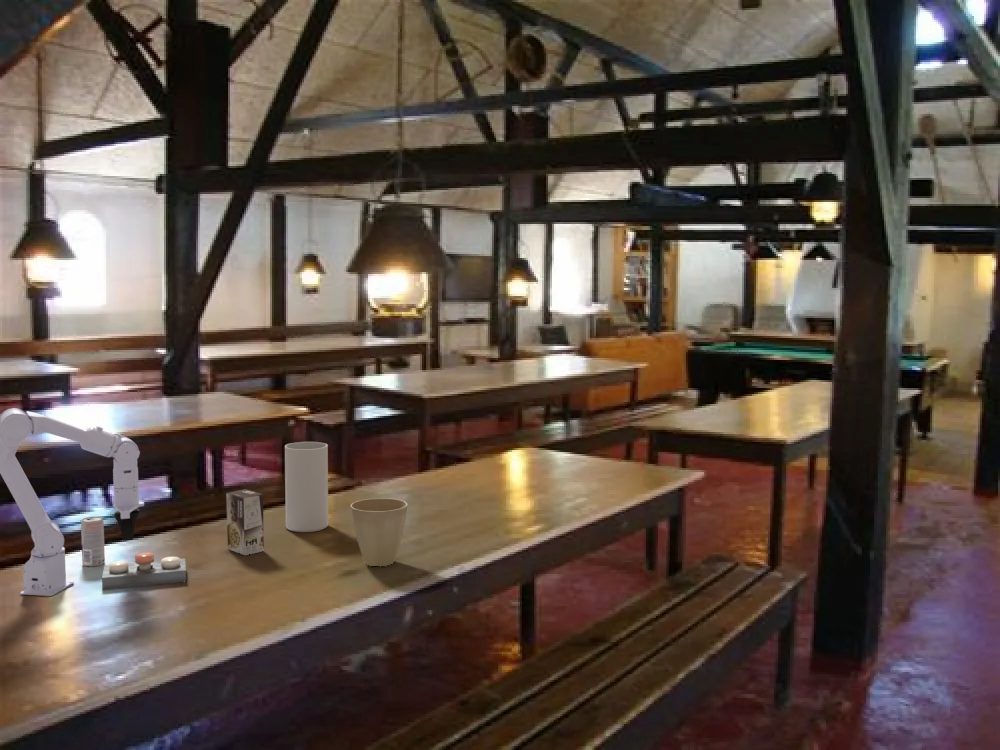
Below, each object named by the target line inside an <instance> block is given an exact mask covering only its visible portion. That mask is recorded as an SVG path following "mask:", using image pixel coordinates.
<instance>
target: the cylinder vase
mask: <svg viewBox="0 0 1000 750" xmlns="http://www.w3.org/2000/svg"><path fill="white" fill-rule="evenodd" d="M328 447H329V445H328V444H327V443H325V442H318V441H299V442H293V443H292V442H291V443H287V444H285V445H284V480H285V483H284V485H285V491H284V492H285V493H284V494H285V527H286V529H287V530H289V531H291V532H295V533H315V532H319V531H323V530H324V529H326V528H327V527H328V525H329V463H328V462H329V459H328V458H329V457H328V456H329V455H328V454H329V452H328V451H329V450H328V449H329V448H328Z"/></svg>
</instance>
